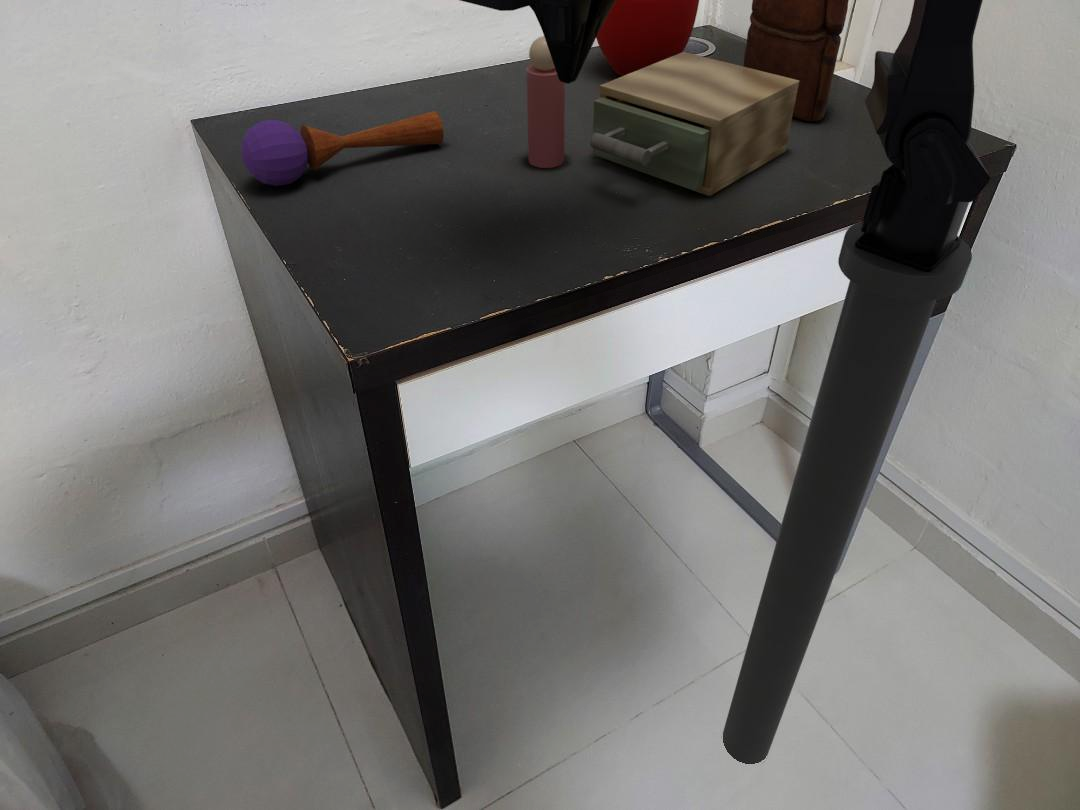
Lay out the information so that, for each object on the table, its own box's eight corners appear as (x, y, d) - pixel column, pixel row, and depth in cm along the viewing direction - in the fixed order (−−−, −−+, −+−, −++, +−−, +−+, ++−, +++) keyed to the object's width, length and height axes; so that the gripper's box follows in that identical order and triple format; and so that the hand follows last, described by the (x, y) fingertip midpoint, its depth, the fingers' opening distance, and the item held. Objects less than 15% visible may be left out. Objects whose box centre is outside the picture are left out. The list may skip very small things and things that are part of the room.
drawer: (667, 207, 69) (673, 149, 66) (563, 167, 76) (564, 112, 73) (768, 149, 79) (777, 95, 75) (667, 118, 85) (672, 67, 82)
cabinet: (709, 196, 73) (719, 120, 68) (597, 156, 80) (599, 85, 75) (785, 151, 80) (799, 80, 76) (676, 118, 87) (683, 51, 83)
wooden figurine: (845, 112, 88) (889, -74, 76) (812, 127, 85) (853, -64, 73) (757, 86, 95) (785, -88, 83) (724, 99, 92) (749, -80, 80)
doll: (571, 160, 79) (573, 36, 72) (547, 171, 78) (545, 45, 70) (545, 150, 81) (544, 28, 74) (521, 161, 79) (517, 37, 72)
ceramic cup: (728, 60, 102) (740, -26, 96) (651, 95, 93) (659, 3, 86) (647, 41, 109) (653, -41, 103) (568, 72, 100) (569, -16, 93)
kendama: (451, 114, 79) (250, 145, 70) (447, 167, 83) (257, 203, 74) (424, 86, 82) (228, 112, 73) (422, 139, 86) (237, 169, 77)
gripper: (572, -179, 61) (570, 35, 71) (380, -156, 51) (410, 89, 61) (690, -171, 55) (669, 61, 65) (500, -144, 45) (510, 125, 55)
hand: (567, 81), depth 62 cm, fingers closed
